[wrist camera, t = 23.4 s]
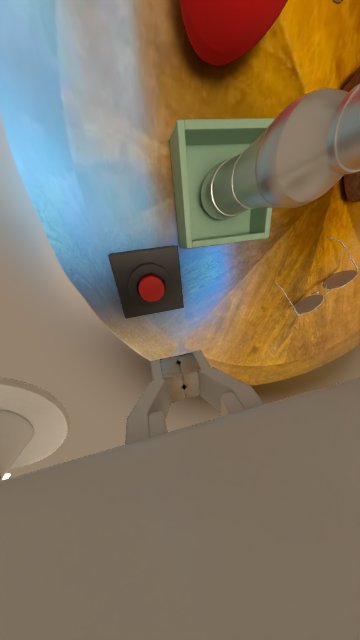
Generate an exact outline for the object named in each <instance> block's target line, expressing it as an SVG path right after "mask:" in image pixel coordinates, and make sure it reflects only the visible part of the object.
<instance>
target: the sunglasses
mask: <svg viewBox="0 0 360 640" xmlns="http://www.w3.org/2000/svg"><path fill="white" fill-rule="evenodd" d="M329 238H330V239H334V240H337V241H339V242H341V243H342V245H343V246H344V248H345V249H346V247H345V245H344V244H343V242H342V241H340V240H338V239H335V238H332V237H329ZM346 250H347V249H346ZM347 252H348V251H347ZM348 254H349V252H348ZM349 256H350V254H349ZM350 258H351V260H352V261H353V263H354V265H355V267H356V269H357V270H356V271H352V270H351V271H342V272H338V273H335V274H333V275H331V276H330V277H328V278H327V279H326V280H325V281H324V283H323V285H322V286H323V287H324V288H327V289H331V290H332V289H336V288H340V287H342V286H345V285H346V284H348V283H350V282H351V281H352V280H354V279H355V278H356V277H357V275H358V272H357V271H358V267H357V265H356V264H355V262H354V260H353V259H352V257H351V256H350ZM275 283H276V282H275ZM276 284H277V283H276ZM277 285H278V284H277ZM278 286H279V285H278ZM279 287H280V286H279ZM280 288H281V287H280ZM281 289H282V288H281ZM331 290H330V291H331ZM282 291H283V292H284V290H283V289H282ZM330 291H328V292H330ZM328 292H327V293H328ZM317 293H319V292H314V293H311V294H317ZM327 293H326V294H327ZM284 294H285V292H284ZM326 294H325V295H326ZM285 295H286V294H285ZM325 295H323V296H325ZM323 296H322V295H312V296H308V297H305V298H303V299H301V300H299V301H298V302H296V303H295V304H294V306H293V305H292V303H291V302H290V300H289V299H288V300H289V302H290V303H291V305H292V307H293V310H294V311H295V312H296V313H297V315H301V314H305V313H309V312H311V311H313V310H315V309H316V308H317V307H318V306H320V305H321V304H322V302H323V300H324V297H323ZM286 297H287V295H286ZM287 298H288V297H287ZM298 313H300V314H298Z"/></svg>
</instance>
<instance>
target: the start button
mask: <svg viewBox="0 0 360 640" xmlns="http://www.w3.org/2000/svg"><path fill="white" fill-rule="evenodd" d="M164 290H165V289H164V284H163V283H162V281H161V279H160V278H159V277H157V276H156V275H146V276H144V277H143V278H142V279H141V280H140V282H139V293H140V295H141V297H142V298H143V299H144V300H146V301H149V302H154V301H157V300H159V299H160V298H161V297H162V296H163V294H164Z"/></svg>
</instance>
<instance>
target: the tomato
mask: <svg viewBox="0 0 360 640" xmlns="http://www.w3.org/2000/svg"><path fill="white" fill-rule="evenodd" d="M287 1H288V0H180V6H181V12H182V18H183V22H184V26H185V29H186V33H187V36H188V38H189V40H190V43H191V45H192V48H193V49H194V51H195V52H196V53H197V55H198V56H199V57H200V58H201V59H202V60H203V61H204V62H206V63H209V64H211V65H213V66H222V65H225V64H228V63H230V62H232V61H234V60H236V59H237V58H239V57H241V56H242V55H244V54H246V53H247V52H248V51H249V50H250V49H251V48H253V47H254V46H255V45H256V44H257V43H258V42H259V41H260V40H261V39H262V37H263V36H264V35H265V34H266V32H267V31H268V30H269V29H270V27H271V26H272V25H273V23H274V22H275V20H276V19H277V18H278V16H279V15H280V13H281V11H282V10H283V8H284V6H285V4H286V3H287Z"/></svg>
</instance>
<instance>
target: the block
mask: <svg viewBox="0 0 360 640" xmlns="http://www.w3.org/2000/svg"><path fill="white" fill-rule="evenodd" d="M108 256H109V260H110V264H111V267H112V271H113V275H114V278H115V282H116V286H117V289H118V293H119V297H120V300H121V304H122V307H123V311H124V315H125V318H131V317H136V316H142V315H147V314H152V313H158V312H163V311H168V310H174V309H179V308H184V305H183V295H182V285H181V275H180V265H179V255H178V246H175V245H173V246H165V247H157V248H149V249H142V250H134V251H126V252H118V253H111V254H109V255H108ZM146 275H156V276H157V277H159V278H160V279H161V281H162V283H163V284H164V289H165V290H164V294H163V296H162V297H161V298H160V299H159V300H157V301H154V302H149V301H146V300H144V299H143V298H142V297H141V295H140V293H139V282H140V280H141V279H142V278H143V277H144V276H146Z"/></svg>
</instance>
